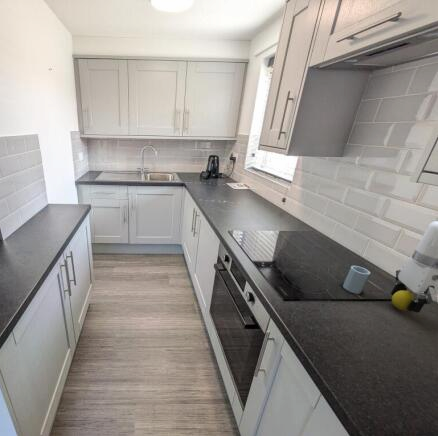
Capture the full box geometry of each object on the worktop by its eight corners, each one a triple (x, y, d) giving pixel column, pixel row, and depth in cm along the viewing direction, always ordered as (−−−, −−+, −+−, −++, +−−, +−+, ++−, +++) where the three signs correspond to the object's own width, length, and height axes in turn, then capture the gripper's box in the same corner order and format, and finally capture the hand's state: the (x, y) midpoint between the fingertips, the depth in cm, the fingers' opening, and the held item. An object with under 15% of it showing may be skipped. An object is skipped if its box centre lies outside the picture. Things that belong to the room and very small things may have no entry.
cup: (356, 286, 93) (365, 267, 89) (364, 295, 88) (373, 275, 84) (340, 283, 94) (348, 264, 91) (346, 291, 89) (355, 272, 86)
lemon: (409, 318, 78) (420, 299, 75) (386, 308, 81) (396, 290, 78) (410, 310, 81) (421, 292, 78) (388, 301, 85) (398, 283, 82)
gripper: (472, 277, 64) (439, 324, 71) (422, 248, 80) (399, 289, 87) (438, 272, 66) (409, 319, 73) (396, 244, 82) (375, 285, 89)
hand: (404, 302), depth 80 cm, fingers open, 7 cm apart
